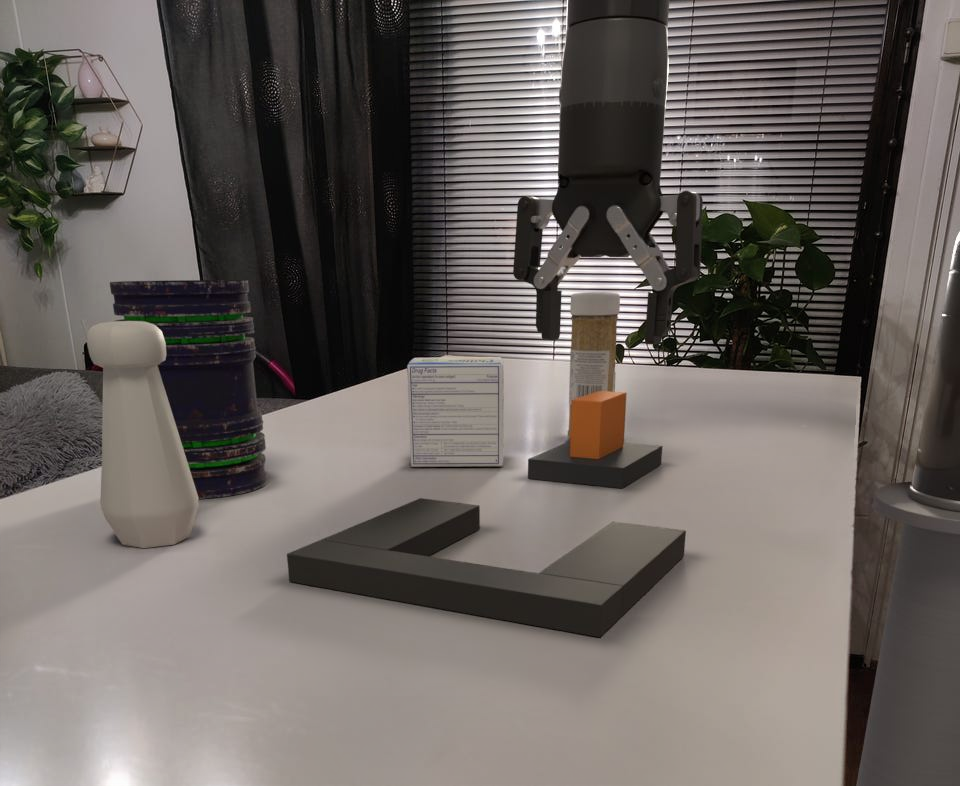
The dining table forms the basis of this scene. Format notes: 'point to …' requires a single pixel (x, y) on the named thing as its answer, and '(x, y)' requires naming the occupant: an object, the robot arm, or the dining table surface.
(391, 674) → the dining table surface
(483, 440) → the medicine box
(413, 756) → the dining table surface
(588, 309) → the sprinkles bottle
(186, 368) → the storage jar
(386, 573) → the large u-shaped block
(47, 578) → the dining table surface
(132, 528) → the salt shaker
